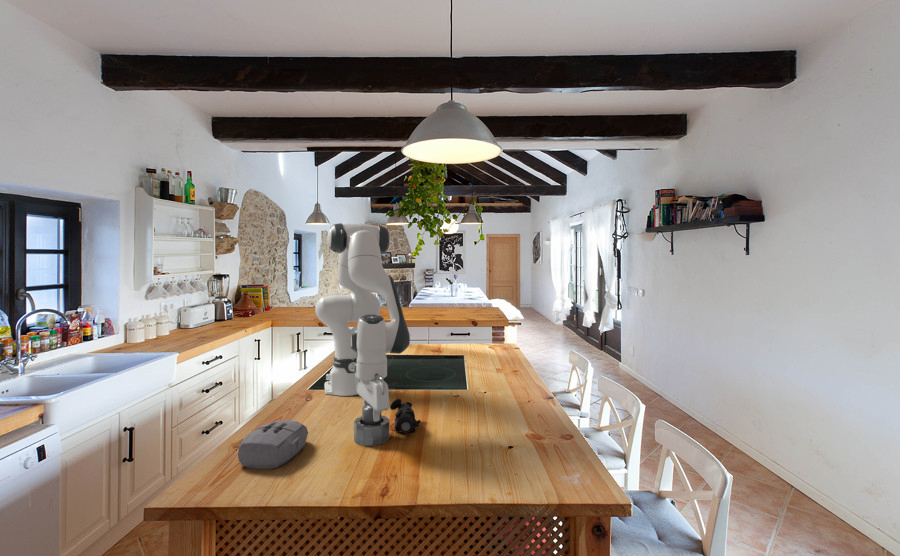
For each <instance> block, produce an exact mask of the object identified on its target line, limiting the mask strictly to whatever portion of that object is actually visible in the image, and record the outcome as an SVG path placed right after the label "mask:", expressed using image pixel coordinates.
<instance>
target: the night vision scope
mask: <svg viewBox="0 0 900 556" xmlns="http://www.w3.org/2000/svg"><path fill="white" fill-rule="evenodd" d="M412 407H413V403H412V402H410V401H406V402H402V399H401V398H396V399H394V400H393V401H391V403H390V404H389V409H390V410H391V411H395V410H397V412H395V414H394V417H395V418H394V431H395V432H396V433H397V434H400V433H403V434H408V433H410V432H412V433H415V432H416V428H419V427H420V424H421V422H422V421H421V419H418V420H417V419H416V415H415V412H414V410H413V408H412Z"/></svg>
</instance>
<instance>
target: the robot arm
mask: <svg viewBox="0 0 900 556" xmlns="http://www.w3.org/2000/svg"><path fill="white" fill-rule="evenodd" d="M326 240H327V245H328V247H329V249H330V250H331V251H332V252H334V253H338V254H339V255H338V260H337V261H338V263H337V274H336V275H337V276H336V280H337V282H338V283H339V285H340V286H341V287H343V288H344V289H346V290H348V291H350V293H349V294H331V295H326V296H322V297H320V298H319V299H318V300H317V302H316V304H315V309H314V311H315V315H316V317H317V319H318V320H319V321H320V322H321V323H323V324H324V325H326V326H327V328H328V329H329V330H330V332H331V334H332V336H333V343H334V356H333V360H332V362H333V363H332V368H331V370H330V371H329V373H326V375H325V380H326V381H325V382H324V386H323V387H324V394H325V395H332V396H333V395H334V396H339V397H341V396H343V397H346V396H347V397H349V396H350V397H351V396H357V395H359V396H360V397H361V398H362V399H363V400H362V402H363V406H365V405H369V404H370V405H371V406H372V407H373V414H372V420H373V421H375V422H376V421H379V420H380V412H381V413H382V412H383V411H387V410H389V409H390V396H389V395H390V393H389V385H388V383H387V382H386V381H385V380H384V378H386V377H387V376H388V358H387V354H395V355H396V354H397V355H398V354H402V353H404V352H405V351H406V350H407V349H408V347H409V346H410V344H411V343H410V342H411V335H410V331H409V328H408V324H407V322H406V319H405V316H404V312H403V309H402V305H401V301H400V297H399V294H398V293H399V292H398V290H397V286H396V283H395V281H394V280H395V279H394V278H393V276H391V275H389V274H388V273H387V272H386V270H385V268H384V267H383V262H382V260H383V259H382V254H385V253H386V252H387V251H388V249H389V246H390V243H391V238H390V232H389V230H388V228H386V227H385V226H382V225H379V224H378V225H374V224H373V225H372V224H367V223H340V222H339V223H334V224H332V225H331V226H330V228H329V230H328V232H327V237H326ZM373 293H375V294H377V295H378V296H381V297H382V299H384V300H385V304H386V306H387V310H388V315H389V320H390V321H388V322H386V321H385V317H383V316H381V315H380V314H381V309H382V306H381V301H380V300H379V298H378V297H377V296H376V295H374V294H373ZM353 322H357V324H355V325H354V326H353V327H352V328H350V327H349V323H353Z"/></svg>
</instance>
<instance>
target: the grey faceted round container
mask: <svg viewBox="0 0 900 556" xmlns="http://www.w3.org/2000/svg"><path fill="white" fill-rule="evenodd" d="M389 439H390V418H388V416H385V415H382V414H381V423H380V424H376V425H364V424H362V415H361V416H358V417H357V418H355V419H354V421H353V441H354V442H355V443H356V445H360V446H362V445H363V446H362V447H375V446H379V445H383V444H385V443H387V442H388V441H389Z"/></svg>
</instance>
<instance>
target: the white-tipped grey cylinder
mask: <svg viewBox="0 0 900 556" xmlns="http://www.w3.org/2000/svg"><path fill="white" fill-rule="evenodd" d="M372 414H373V407H372V406H371V405H370V404H369V405H365V406H364V405H363V406H362V407H361V416H362V424H364V425H376V424H380V423H381V415H382V411H381V412H380V420H379V421H376V422H375V421H373V420H372Z"/></svg>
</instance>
